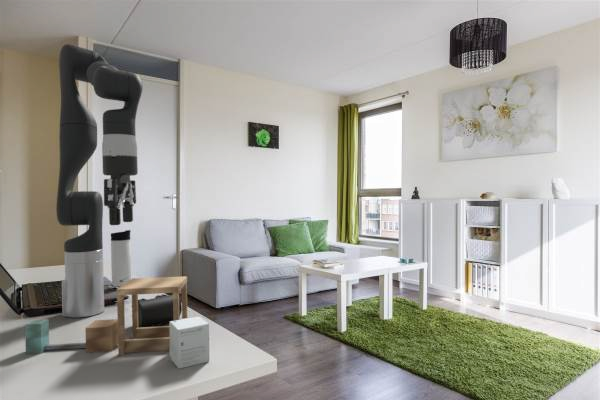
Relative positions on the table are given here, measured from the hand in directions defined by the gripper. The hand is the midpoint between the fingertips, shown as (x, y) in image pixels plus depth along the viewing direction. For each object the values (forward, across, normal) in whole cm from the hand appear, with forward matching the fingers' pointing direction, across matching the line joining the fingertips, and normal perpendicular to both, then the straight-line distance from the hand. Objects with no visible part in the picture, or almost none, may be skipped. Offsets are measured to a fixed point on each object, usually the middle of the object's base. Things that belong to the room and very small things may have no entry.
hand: (121, 223), depth 94 cm
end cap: (+26, -2, +7) cm, 27 cm away
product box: (+25, +20, +19) cm, 38 cm away
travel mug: (+26, -45, -16) cm, 54 cm away
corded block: (+25, +11, -6) cm, 28 cm away
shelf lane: (+25, +11, +10) cm, 29 cm away
